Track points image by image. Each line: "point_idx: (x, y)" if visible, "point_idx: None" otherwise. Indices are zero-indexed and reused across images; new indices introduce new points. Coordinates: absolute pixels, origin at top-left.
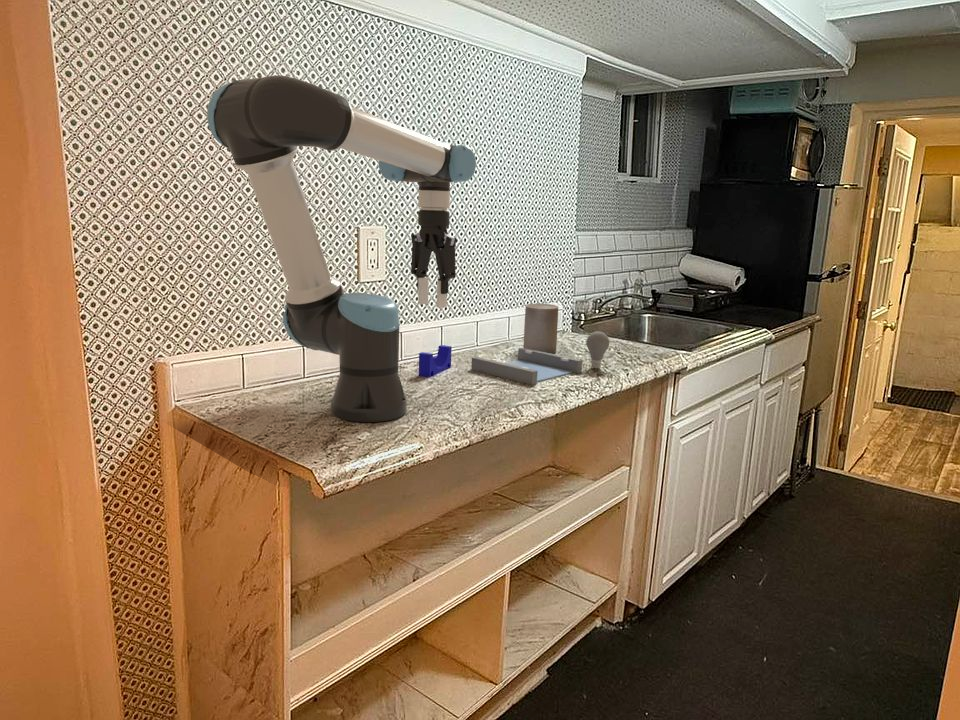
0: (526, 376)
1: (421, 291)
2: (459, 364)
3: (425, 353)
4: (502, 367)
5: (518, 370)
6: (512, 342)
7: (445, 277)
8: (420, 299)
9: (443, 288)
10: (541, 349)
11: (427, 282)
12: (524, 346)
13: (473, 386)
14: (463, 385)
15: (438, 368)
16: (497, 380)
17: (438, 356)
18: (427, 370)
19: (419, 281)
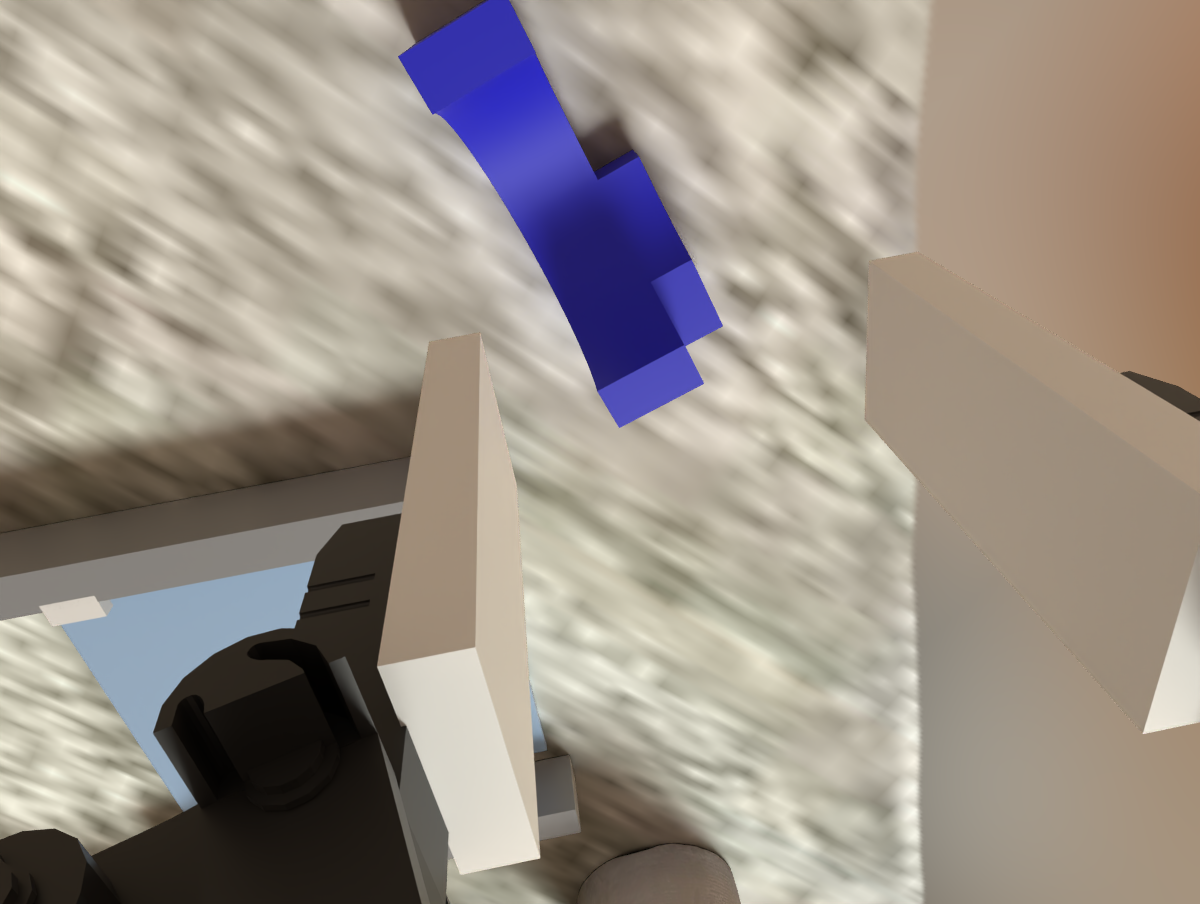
0: (6, 554)
1: (983, 373)
2: (653, 455)
3: (464, 46)
4: (208, 528)
5: (64, 558)
6: (883, 888)
7: (66, 851)
8: (906, 293)
9: (331, 600)
10: (595, 898)
11: (1073, 625)
12: (696, 871)
13: (43, 191)
14: (95, 141)
15: (497, 191)
16: (163, 428)
17: (643, 301)
18: (429, 35)
19: (1177, 440)
